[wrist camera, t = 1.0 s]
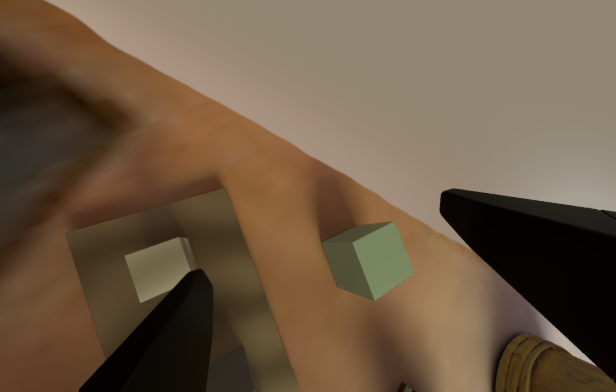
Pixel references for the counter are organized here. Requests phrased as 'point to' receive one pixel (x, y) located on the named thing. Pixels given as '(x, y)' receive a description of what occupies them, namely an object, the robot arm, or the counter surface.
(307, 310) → the counter surface
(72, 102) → the counter surface
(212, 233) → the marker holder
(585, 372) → the tankard
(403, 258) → the sage cap
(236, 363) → the gray block
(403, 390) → the food container
